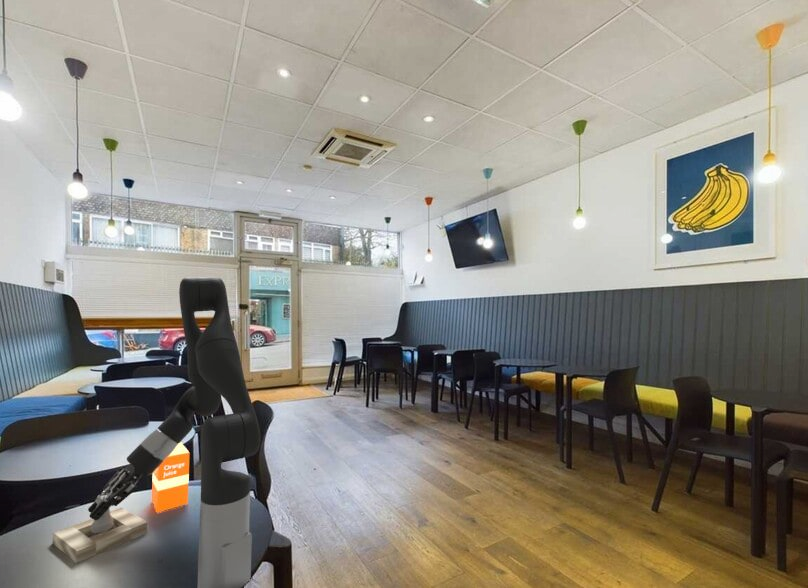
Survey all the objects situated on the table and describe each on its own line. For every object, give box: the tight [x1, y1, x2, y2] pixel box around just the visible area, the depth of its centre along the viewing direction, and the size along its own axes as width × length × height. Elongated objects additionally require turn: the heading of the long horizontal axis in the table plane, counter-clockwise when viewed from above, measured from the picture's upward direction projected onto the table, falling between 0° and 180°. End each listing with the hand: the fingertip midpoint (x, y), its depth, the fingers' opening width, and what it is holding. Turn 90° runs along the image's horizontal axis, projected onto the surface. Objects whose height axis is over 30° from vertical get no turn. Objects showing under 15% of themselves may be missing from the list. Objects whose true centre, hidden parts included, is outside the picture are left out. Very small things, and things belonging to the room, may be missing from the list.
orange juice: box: [151, 441, 191, 514], centre depth 110 cm, size 8×9×20 cm
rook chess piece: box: [91, 493, 114, 534], centre depth 93 cm, size 4×4×8 cm
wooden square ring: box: [52, 507, 148, 564], centre depth 92 cm, size 14×14×2 cm
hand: (92, 514), depth 91 cm, fingers closed on rook chess piece, 3 cm apart
